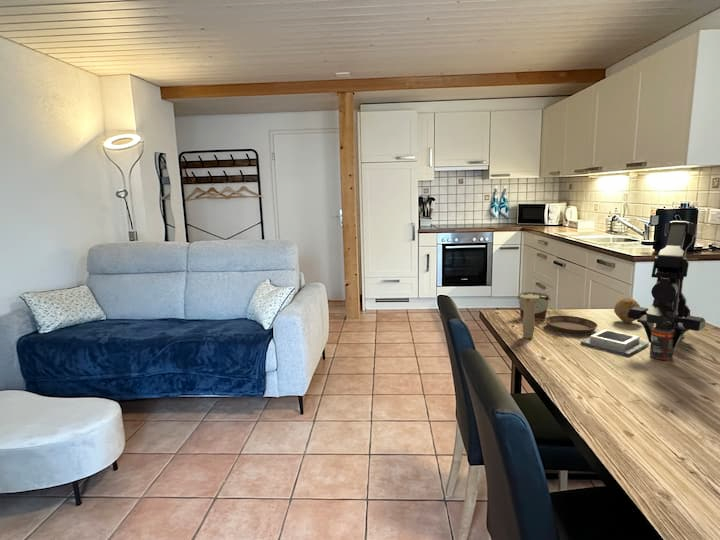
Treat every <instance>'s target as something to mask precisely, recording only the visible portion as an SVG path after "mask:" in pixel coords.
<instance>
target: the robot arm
mask: <svg viewBox="0 0 720 540" xmlns="http://www.w3.org/2000/svg"><path fill="white" fill-rule="evenodd" d="M697 234H698V225H697V224H696V223H693V222H690V221H688V220H672V221H669V222H667V223H665V225H664V236H665V237H666V244H665V247H663V248H661V249H660V250H659V251H658V254H657V256H655V257H654V259H653V260H654V261H653V265H652V270H651V272H652V273H651V278H654V279H655V278H656V282H655V284H654V285H653V287H652V289H651V290H650V291H651V297H652V298H653V302H652V304H651V306H650V307H649V308H648V307H643V306H642V307H641V306H640V307H637V306H636V307H634V308H631V309H630V310H628V315H627V317H628V318H632V319H637V320H636V322H637V323H639V324H641V325H642V326H643V328H644V331H645V333H646V336H647V337H646V338H647V339H648V343H650V344H651V333H652V329H653V328H654V327H655V325H656V324H659V325H665V324H666V322H667V321H668V322H671V323H672V327H671V328H672V329H673V330H674V331H675V336H674V341H673V348H674V349H676V347H677V345H678V344H679V342H680V341H681V340H682V339H683V338H685V335H684V334H685V333H686V332H689V331H690V330H691V331H696V332H698V331H701V330H703V329H704V328H706V319H705V318H704V317H701V316H700V317H699V316H695V315H691V309H689V308H690V307H689V305H687V298H686V297H685V295H684V293H683V287H684V286H683V284H684V279H685V278H686V277H687V276H688V271H689V266H690V264H689V261H688V259H687V257H686V256H687V249H688V248H689V247H690V246H691V245H692V244H693V242H694V238H696V237H697Z"/></svg>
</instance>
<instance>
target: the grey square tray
mask: <svg viewBox="0 0 720 540" xmlns="http://www.w3.org/2000/svg"><path fill="white" fill-rule="evenodd" d="M640 338H641V336H640V335H639V336H638V335H633V334H629V333H624V332H621V331H615V330H610V329H608V328H607V329H606V328H605V329H603V330H599V331H598V332H595V333H594V334H592V335H590V337H587V338H585V339H583V340H581V341H580V345H581V344H582V345H583V346H585V345H586V347H591V348H594V349H598V350H601V351H606V352H609V353H613V354H617V355H619V356H626V357H628V358H629V357H631V356H632V355H634V354H637V353H638V352H640V351H641V350H643V349H645V348H647V347H648V346H650V344H649V343H650V342H649V341H643V340H641V339H640Z"/></svg>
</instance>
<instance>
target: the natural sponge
mask: <svg viewBox="0 0 720 540" xmlns="http://www.w3.org/2000/svg"><path fill="white" fill-rule="evenodd" d="M636 306H637V307H641V306H640V304H639V302H638V301H636V300H635V299H634V298H632V297H630V296H629V297H628V296H625V297H623V298H622V297H621V298H620V299H619V300H618V301H617V302H616V303H615V305H614V309H613V311H614V313H615V315H616V316H617V318H618V319H619V320H621V321H622V322H623V323H625V324H630V323H633V322H634V321H637V320H638V319H632V318H628V317H627V315H628V310H630V309H631V308H634V307H636Z"/></svg>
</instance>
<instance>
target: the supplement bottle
mask: <svg viewBox="0 0 720 540" xmlns="http://www.w3.org/2000/svg"><path fill="white" fill-rule="evenodd" d="M671 327H672V323H671V322H668V321H667V322H666V324H665V325H659V324H656V323H655V325H654V328H653V329H652V333H651V343H650V344H649V346H650V347H649V356H650V357H651V358H653V359H656V360H659V361H660V360H661V361H671V360H673V358H674V352H675V351H674V349H675V348H673V341H674V336H675V331H674V330H673V329H672V328H671Z"/></svg>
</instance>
